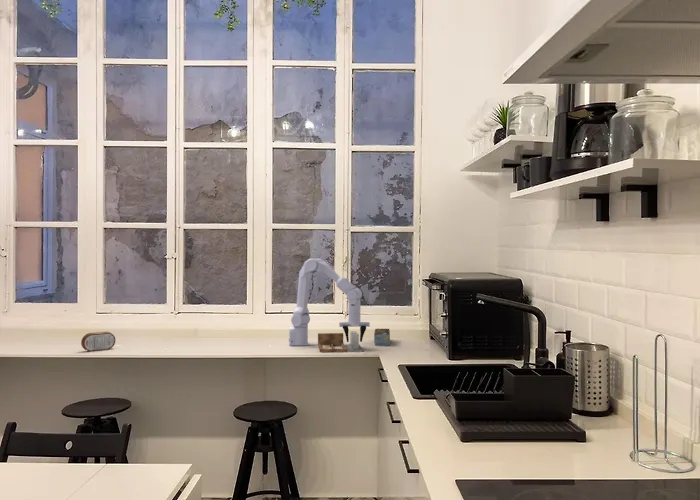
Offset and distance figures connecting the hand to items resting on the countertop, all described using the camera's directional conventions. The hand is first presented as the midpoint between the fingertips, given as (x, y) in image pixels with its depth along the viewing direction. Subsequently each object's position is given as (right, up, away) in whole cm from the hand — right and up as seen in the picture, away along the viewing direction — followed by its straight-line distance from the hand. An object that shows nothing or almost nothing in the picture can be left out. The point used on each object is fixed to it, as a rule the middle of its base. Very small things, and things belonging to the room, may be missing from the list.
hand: (354, 341), depth 287 cm
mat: (0, -3, 0) cm, 3 cm away
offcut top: (-13, -3, -1) cm, 14 cm away
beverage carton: (+14, -4, +17) cm, 23 cm away
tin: (-119, -3, -9) cm, 120 cm away
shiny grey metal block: (0, -3, 0) cm, 3 cm away
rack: (-11, -3, -1) cm, 11 cm away
